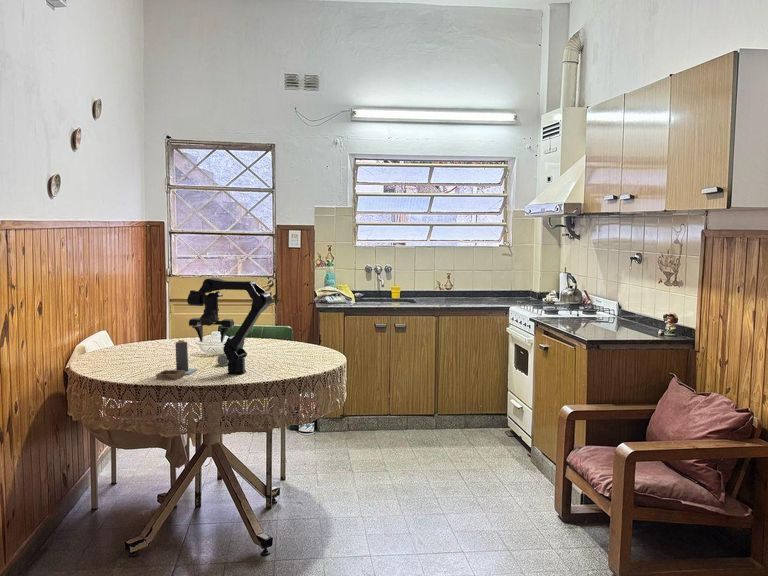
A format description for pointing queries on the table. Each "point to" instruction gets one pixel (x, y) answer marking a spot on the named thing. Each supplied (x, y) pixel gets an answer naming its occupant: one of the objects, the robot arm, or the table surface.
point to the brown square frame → (170, 374)
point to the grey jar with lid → (181, 355)
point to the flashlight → (222, 360)
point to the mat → (189, 371)
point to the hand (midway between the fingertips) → (211, 342)
